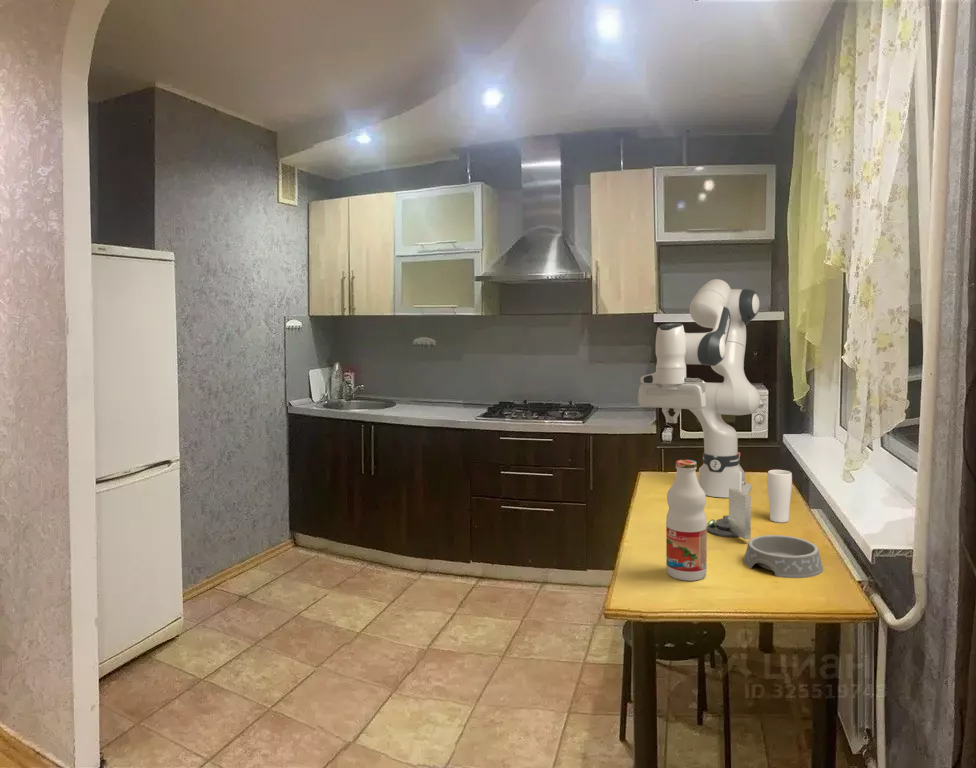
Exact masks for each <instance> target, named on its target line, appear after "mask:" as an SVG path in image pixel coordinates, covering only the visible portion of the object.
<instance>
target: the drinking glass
mask: <svg viewBox="0 0 976 768" xmlns="http://www.w3.org/2000/svg"><path fill="white" fill-rule="evenodd" d="M792 489H793V473H792V472H791V471H790V470H785V469H784V470H783V469H771V470H768V471H767V494H768V506H769V507H768V508H769V519H770V521H772V522H774V523H777V524H778V523H779V524H784V523H788V522H789V519H790V509H791V506H790V505H791V498H792Z"/></svg>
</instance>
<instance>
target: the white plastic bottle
mask: <svg viewBox="0 0 976 768" xmlns="http://www.w3.org/2000/svg"><path fill="white" fill-rule="evenodd" d="M697 467H698V463H697V461H696V460H692V459H679V460H676V461H675V469H676V474H675V477H674V481H673V483H672V484H671V486H670V487H669V489H668V490H667V493H666V501H667V505H668V511H667V514H666V518H665V519H666V521H665V523H666V524H665V526H666V528H665V530H666V531H665V532H666V533H665V535H666V536H665V537H666V539H665V540H666V541H665V542H666V546H665V547H666V554H665V555H666V567H665V568H666V572H667V575H668V576H669V577H671V578H673V579H676V580H680V581H687V582H689V581H691V582H692V581H695V582H696V581H700V580H702V579H705V578H706V575H707V569H708V568H707V565H708V564H707V555H708V554H707V549H708V547H707V545H708V544H707V539H708V538H707V536H708V535H707V532H708V531H707V526H708V525H707V523H708V522H707V517H706V513H705V507H706V503H707V495H705V492H704V491H703V489H702V488H701V487H700V485H699V482H698V477H697V472H696V470H697Z"/></svg>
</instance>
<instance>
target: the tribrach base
mask: <svg viewBox="0 0 976 768" xmlns="http://www.w3.org/2000/svg"><path fill="white" fill-rule="evenodd" d="M707 532H708V533H709V534H711V535H713V536H718V537H723V538H725V537H726V538H741V537H740V536H738V535H737V534H735V533H733V532H732V531H730V530H724V529H720V528H717V527H716V520H715V519H710V520H709V521H708V522H707Z"/></svg>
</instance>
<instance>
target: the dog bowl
mask: <svg viewBox="0 0 976 768" xmlns="http://www.w3.org/2000/svg"><path fill="white" fill-rule="evenodd" d="M821 560H822V558H821V555H820V550H819V547H818V546H817V545H816V544H814V543H812V542H811V541H809V540H807V539H803V538H799V537H795V536H790V535H782V534H781V535H779V534H766V535H760V536H755V537H752V538H750V539H749V541H748V543H747V545H746V551H745V555H744V558H743V562H744V564H745V565H746V566H747V567H748V568H749V567H750V569H752V568H753V566H754V565H756V564H757V565H758V566H759V567H762V568H764V569H766V570H770V571H773V573H774V575H775V577H778V578H783V579H785V578H787V579H806V578H813V577H816V576H820V575H822V573H823V571H824V566H823V563H822V561H821Z"/></svg>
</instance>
